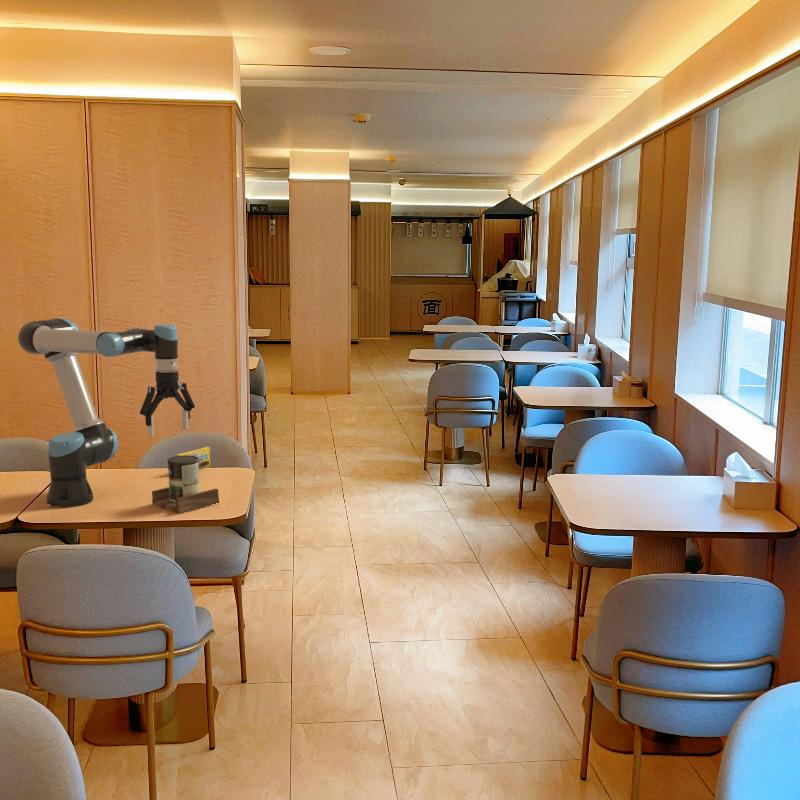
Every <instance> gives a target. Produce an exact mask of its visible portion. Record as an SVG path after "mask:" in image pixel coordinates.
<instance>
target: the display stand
mask: <svg viewBox="0 0 800 800" xmlns="http://www.w3.org/2000/svg"><path fill="white" fill-rule="evenodd" d="M199 492H200V493H196V494H192V495H188V496H184V497H180V498H176V502H172V501H170V493H169V486H168V487H164V488H160V489H155V490H152V491H151V496H152V499H151V502H152V503H151V504H152V506H153V505H155V506H154V507H157V508H160V509H163V510H166V511H170V512H173V513H176V514H178V515H180V514H181V515H182V514H186V513H189V512H192V511H193V512H194V511H196V510H200V508H201V509H203V507H204V508H207V507H206V506H208V507H210V506H209V505H212V504H216V503H219V504H220V498H219V489H217V488H212V489H211V488H210V489H208V490H204V491H199ZM216 505H217V504H216ZM212 506H213V505H212ZM185 512H186V513H185Z"/></svg>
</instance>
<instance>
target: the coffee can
mask: <svg viewBox="0 0 800 800" xmlns="http://www.w3.org/2000/svg"><path fill="white" fill-rule="evenodd" d="M198 460H199V458H198V457H196V456H190V455H184V456H177V455H176V456H171V457H169V458H167V468H168V469H167V470H168V471H167V472H168V487H169V493H170V501H172V502H176V498H180V497H184V496H188V495H192V494H196V493H200V492H201V491H200V472H199V471H200V470H199V468H198Z"/></svg>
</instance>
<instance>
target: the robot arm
mask: <svg viewBox="0 0 800 800" xmlns="http://www.w3.org/2000/svg"><path fill="white" fill-rule="evenodd" d="M17 340H18V344H19V346H20V348H21V349H22V350H24V351H25V352H26V353H29V354H32V355H43V356H44V359H45V360H46V362H48V363H50V364H51V365H52V368H53V370H54V373H55V375H56V379H57V382H58V385H59V387H60V390H61V391H62V392H61V393H62V395H63V397H64V401H65V403H66V407H67V410H68V412H69V414H70V418H71V420H72V423H73V427H74V428H73V430H72V431H70V432H66V433H65V432H64V433H59V434H57V435H54V436H52V437H51V438H50V439H49V440H48V447H47V448H48V449H47V454H48V461H49V462H48V463H49V474H50V484H49V487H48V492H47V495H46V504H47V505H48V504H49V505H51V506H50V507H53V506H60V507H59V508H71V507H70V506H73V507H78V506H82V505H87V504H88V503H91V502H92V501H94V493H93V490H92V488H91V486H90V484H89V483H90V482H89V481H88V478H87V469H86V468H88V467H91V466H94V465H98V464H103V463H105V462H106V461H109V460H111V459H112V458H114V457H115V456H116V454H117V451H118V448H119V440H118V439H119V438H118V436H117V434H116V432H115V431H113V430H112V429H111V428H107V425H106V424H105V421H103V420H101V419H99V417H98V413H97V411H96V408H95V405H94V402H93V400H92V397H91V393H90V391H89V388H88V386H87V382H86V380H85V376H84V374H83V371H82V368H81V366H80V363H79V360H78V354H89V355H90V354H92V355H94V354H95V355H102V356H104V357H107V358H108V357H110V358H112V357H117V356H123V355H126V354H127V355H128V354H134V353H139V352H140V353H141V352H148V353H150V352H151V353H154V369H155V370H156V371H155V386H148V387H147V393H146V396H145V397H144V401H143V403H142V405H141V409H140V411H139V415H142V416H145V425H146V427H147V435H149V436H152V437H154V436H155V417H154V413H155V411H156V409H157V408H158V406H159V405H160V403H161V402H162V401H163V400H164V399H169V398H170V399H172V398H174V399H175V400H176V402H177V403H178V404H179V405H180V407H181V408H182V410H181V429H182V430H185V431H188V430H189V420H190V419H191V411H192V410H193V409H195V408H196V407H195V406H196V405H195V404H194V402H193V401H194V400H193V399H192V397H191V394H190V393H189V390H188V386H187V383H185V382H183V381H181V382H179V371H178V370H179V356H178V355H179V354H178V347H179V345H178V342H179V335H178V329H177V326H176V325H174V324H166V323H165V324H163V323H161V324H156V325H154V327H153V329H148V328H147V329H145V328H144V329H143V328H139V327H136V328H129V329H127V330H125V331H117V332H116V331H115V332H114V331H113V332H112V331H111V332H110V331H94V330H93V331H92V330H91V331H90V330H80V329H79V327H78V325H76V323H74V322H73V321H72V320H70V319H68V318H57V317H56V318H50V319H43V320H42V319H41V320H33V321H29V322H27V323H25V324H24V325H22V327H21V328H20V330H19V331H18V336H17ZM178 390H179V391H180V393H181V394H180V393H179V392H178ZM181 395H182V396H181ZM49 505H48V506H49ZM68 506H69V507H68Z"/></svg>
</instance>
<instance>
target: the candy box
mask: <svg viewBox="0 0 800 800" xmlns="http://www.w3.org/2000/svg"><path fill="white" fill-rule="evenodd" d="M184 455H190V456H196V457H198V458H199V460H198V468H199V469H201V470H205V469H207V468H211V447H209V446H205V447H202V448H201V447H200V448H198V449H193V450H190V451H185V452H182V453H178V454H177V453H176V456H184Z"/></svg>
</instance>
